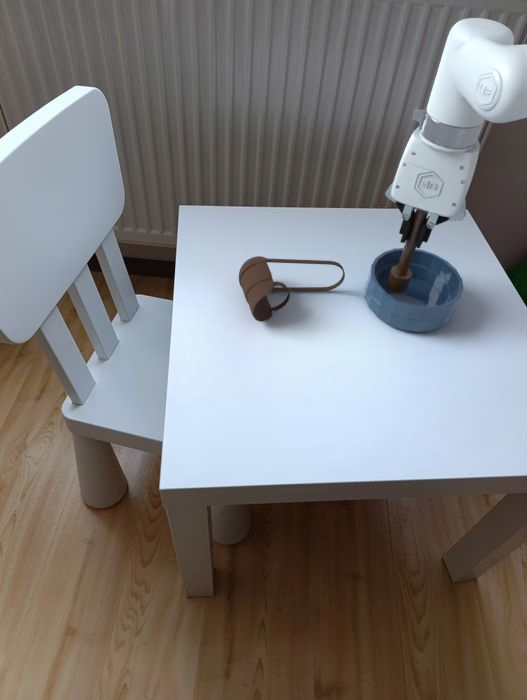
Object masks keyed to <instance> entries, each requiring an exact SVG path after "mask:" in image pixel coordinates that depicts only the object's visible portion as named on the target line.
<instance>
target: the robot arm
mask: <svg viewBox="0 0 527 700" xmlns="http://www.w3.org/2000/svg"><path fill="white" fill-rule="evenodd" d="M514 40H515V37H514V34H513V31H512V30H511V28H510V27H508V26H506V25H505V24H504V23H502V22H498V21H496V20H493V19H488V18H482V17H469V18H463V19H460V20H459V21H457V22H455V24H454V25H452V27H451V29H450V30H449V33H448V35H447V38H446V41H445V44H444V48H443V51H442V55H441V58H440V62H439V65H438V68H437V72H436V76H435V78H434V82H433V85H432V88H431V92H430V96H429V99H428V103H427V106H426V107H425V108H423V109H422V108H421V109H418V108H415V109H414V111H413V114H412V117H411V118H412V120H413V121H416V122H417V123H418V127H416V129H414V130H413V132H412V134H411V135H410V137H409V139H408V141H407V144H406V146H405V148H404V150H403V154H402V155H401V159H400V161H399V164H398V168H397V170H396V173H395V176H394V178H393V182H392V183H391V184H390V185H389V187H388V188H387V189H386V191H385V192H384V196H385V197H386V198H388V200H390V201H391V202H392V203H395V206H396V207H397V208H398V210H399V212H400V214H401V218H402V221H401V225H400V228H399V231H398V234H400V235H402V236H401V238H400V241H399V242H400V244H405V243H406V240H407V237H408V234H409V231H410V228H411V225H412V222H413V219H414V216H415V213H416V210H415V209H417V208H418V209H421V210H424V211H427V212H428V213H429V215H427V218H426V221H425V223H424V224H423V226H422V229H421V231H420V234H419V237H418V240H417V243H416V249H421V247H422V245H423V243H426V244H427V243H428V241H429V239H430V236H431V234H432V231H433V229H435V226H438V225H440V224H441V225H442V224H443V223H445V222H448V221H450V222H453V221H454V222H455V221H458V222H459V221H464V219H465V217H466V215H467V206H466V205H467V204H466V198H467V194H468V192H469V189H470V185H471V183H472V180H473V177H474V174H475V170H476V167H477V163H478V160H479V159H478V158H479V153H480V149H481V142H480V141H479V140H478V139H479V136H480V134H481V131H482V128H483V127H484V123H485V120H486V121H487V122H490V123H494V124H506V123H510V122H515V121H519V120H523V119H527V44H526V43H525V44H514V42H515V41H514Z"/></svg>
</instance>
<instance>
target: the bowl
mask: <svg viewBox="0 0 527 700" xmlns="http://www.w3.org/2000/svg"><path fill="white" fill-rule="evenodd" d="M403 249H404V247H399V248H392V249H389V250H386V251H384V252H382V253H380V254H379V255H377V256H376V257H375V258H374V259H373V262H372V264H371V265H370V268H369V273H368V276H367V279H366V283H365V286H364V300H365V302H366V304H367V307H368V308H369V310H370V311H371V312H372V313H373V314H374V315H375V317H377V318H378V319H380V320H381V321H382V322H384V323H385V324H387V325H389V326H391V327H393V328H396V329H398V330H401V331H405V332H413V333H415V332H416V333H421V332H431V331H434V330H437V329H440V328H442V327H444V326H445V325H446V324H447V323H448V322H449V321H450V320H451V318H452V316H453V314H454V312H455V310H456V308H457V305H458V303H459V301H460V299H461V297H462V294H463V292H464V282H463V278H462V276H461V275H460V273H459V271H458V270H457V269H456V267H454V266H453V265H452V264H451V263H450V262H449V261H448V260H446V259H445V258H442V257H441V256H439V255H438V254H436V253H433V252H430V251H427V250H423V249H420V248H416V249H415V252H414V255H413V258H412V261H411V263H410V266H409V269H410V270H411V271H412V277H411V280H410V283H409V285H408V288H407V290H406V291H404V292H394V291H392V290H390V289H389V288H388V286H387V280H388V277H389V274H390V271H391V268H392V267H393V266H396V265H398V264H399V261H400V258H401V255H402V252H403Z"/></svg>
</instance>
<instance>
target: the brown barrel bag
mask: <svg viewBox="0 0 527 700" xmlns="http://www.w3.org/2000/svg"><path fill="white" fill-rule="evenodd" d="M268 263H270V264H271V263H272V264H275V263H276V264H299V265H300V264H301V265H302V264H303V265H329V266H336V267H337V268H340V270H341V271H342V276H341V278H340V279H339V280H338V281H337V282H335V283H334V284H332V285H329V286H296V287H295V286H293V287H292V286H291V287H288V286H287V285H286V284H285V283H284V282H280V281H274V279H273V274H272V271H271V268H270V267H269V265H268ZM345 273H346V272H345V269H344V267H343V266H342V265H341V263H339V262H337V261H335V260H334V261H333V260H321V259H320V260H319V259H295V258H269V257H268V258H267V257H265V256H260V255H259V256H258V255H257V256H252V257H250V258H248V259H247V260H245V261H244V262H243V263H242V265H241V266H240V269H239V271H238V282H239V286H240V287H241V290H242V292H243V295H244V299H245V301H246V303H247V304H248V307H249V309H250V312H251V316H252V317H253V318H254V319H255V320H256V321H257V322H265V321H267V320H270V319H271V318H272V317H273V312H277V311H279V310H280V309H282V308H283V307H285V306H286V305H287V304H288V302H289V301H290V297H291V293H290V292H326V291H332V290H334V289H336V288H339V286H341V285H342V283H344V280H345V277H346V274H345ZM271 292H287V295H286V297H285V299H283V301H282V302H280V303H279V304H277V305H275V306H272V305H271V303H270V300H269V298H268V295H269V294H270V293H271Z"/></svg>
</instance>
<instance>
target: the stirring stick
mask: <svg viewBox="0 0 527 700" xmlns="http://www.w3.org/2000/svg"><path fill="white" fill-rule="evenodd" d="M415 212H416V213H415V216H414V219H413V222H412V225H411V228H410V231H409V234H408V237H407V240H406V242H405V243H404V246H403V248H404V249H403V252H402V255H401V258H400V261H399V264H398V265H396V266H393V267H392V268H391V271H390V274H389V277H388V280H387V286H388V288H389V289H390V290H392V291H394V292H404V291H406V290H407V288H408V285H409V283H410V280H411V277H412V271H411V270H410V269H409V266H410V263H411V261H412V258H413V255H414V252H415V249H417V248H416V243H417V240H418V237H419V234H420V231H421V229H422V226H423V224H424V223H425V221H426V218H428V216H429V212H427V211H424V210H421V209H418V208H416V210H415Z"/></svg>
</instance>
